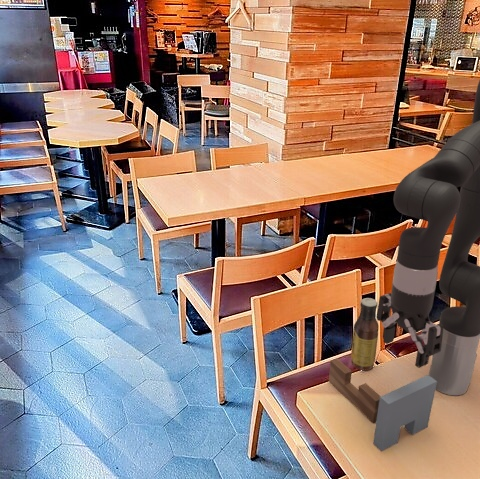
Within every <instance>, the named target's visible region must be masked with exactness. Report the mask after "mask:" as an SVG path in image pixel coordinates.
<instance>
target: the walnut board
mask: <svg viewBox="0 0 480 479" xmlns="http://www.w3.org/2000/svg"><path fill="white" fill-rule="evenodd" d="M352 374H353V370H351V368H349V367H348V366H346V365H345V363H343V362H342V361H341V360H340V359H338V358H334V359H331V360H330V364H329V375H328V382H329V383H330V384H331V385H332V386H333V387H334V388H335V389H336V390H337V391H338V392H340V394H342V396H343V397H345V398H346V399H347V400H348V401H349V402H350V403H351V404H352V405H353V406H354V407H355V408H356V409H357V410H358V411H360V413H362V415H364V417H365V418H366V419H367V420H369V421H370V422H371V423H372V424H376V421H377V414H378V407H379V400H380V397H381V396H382V395H380V394H379V393H378V392H377V391H375V390H374V388H372V387H371V386H370V385H368V384H367V383H366V382H365V383H362V384H360V385H358V388H357V387H356V386H355V385H354V384H353V383H351V381H352Z"/></svg>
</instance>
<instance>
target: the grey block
mask: <svg viewBox="0 0 480 479" xmlns="http://www.w3.org/2000/svg"><path fill="white" fill-rule="evenodd" d="M436 384H437V381H436V380H435V379H433V378H432V377H430V376H429V374H427V375H424V376H423V377H420V378H418V379H415V380H413V381H411V382H409V383H407V384H405V385H402V386H400V387H398V388H396V389H393V390H391V391H390V392H387V393H385V394H383V395H380V396H381V397H380V400H379V407H378V414H377V421H376V422H375V428H374V436H373V441H372V444H373V445H374V446H375V447H376V449H378V450H379V451H380V452H383V451H385V450H387V449H389V448H391V447H393V446H395V445H397V444H398V442H399V437H400V432H401V428H402V427H403V428H404V429H405V430H406V431H407V432H408V433H409V434H410V435H411V436H414V435H415V434H417V433H419V432H421V431H423V430H425V429H427V428H428V427H429V422H430V416H431V413H432V407H433V403H434V398H435V394H436Z"/></svg>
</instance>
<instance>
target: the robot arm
mask: <svg viewBox="0 0 480 479" xmlns="http://www.w3.org/2000/svg"><path fill="white" fill-rule="evenodd" d="M474 97H475V98H474V104H473V105H474V106H473V114H472V122H471V124H469V125H467V126H465V127H463V128H461V130H459V131H457V132H456V133H454V134H453V135H452V136H451V137H450V138H449V139H448V140H447V141H446V142H445V144H443V146H442V147H441V148H440V149H439V151H438V152H437V153H436V154H435V156H434V157H433V158H431V159H429V160H428V161H426V162H424V163H423V164H421V165H420V166H418V167H417V168H415V169H414V170H412V171H411V172H409V173H408V174H406V175H405V176H404V178H402V179H401V180H400V182H399V183H398V185H397V186H396V188H395V191H394V193H393V205H394V208H395V209H396V210H397V211H398V213H401V214H402V215H405V216H408V217H411V218H414V219H419V220H422V221H425V222H427V226H426V227H420V226H417V227H416V226H413V227H408V228H406V229H405V228H404V230H402V231H401V233H400V236H399V242H398V249H397V255H396V256H397V257H396V263H395V266H394V269H393V278H392V285H391V286H392V287H391V292H388V293H386V294H383V295H380V296H379V299H378V303H377V309H376V317H375V318H376V320H377V322H381V325H382V328H383V329H382V330H383V332H382V339H383V343H385V345H388V344H390V343H393V342H394V339H395V331H396V326H395V325H396V324H397V327H399V328H401V329H403V330H404V331H405V332H406V333H408V334H409V335H410V337H411V340H412V342H414V343H415V345H416V347H417V349H418V350H417V351H416V357H415V363H414V366H416V367H417V368H418V369H420V368H423V367H425V366H427V365H428V364H429V361H430V360H429V359H430V357H431V363H430V368H429V373H428V375H429V376H430V377H432V378H433V379H435V380H436V381H437V384H436V389H435V391H438V392H440V393H442V394H445V395H449V396H461V395H462V396H463V394H465V393H467V391H468V388H469V385H471V381H472V378H473V373H474V368H475V364H476V360H477V357H478V353H477V352H478V348H479V347H478V346H479V342H480V265H478V264H476V263H475V264H474V263H473V262H470V261H468V257H469V254H470V251H471V249H472V247H473V245H474V243H475V242H476V241H477V240H478V239H479V238H480V79H479V80H478V83H477V87H476V92H475V96H474ZM459 187H460V191H459V189H458V188H459ZM454 218H455V219H454ZM453 220H454V223H453V228H452V232H451V238H450V241H449V244H448V247H447V252H446V253H445V257H444V261H443V264H442V267H441V271H440V276H439V281H438V273H439V272H438V269H439V268H438V266H439V260H440V254H441V249H442V245H443V241H444V239H445V237H446V234H447V232H448V230H449V228H450V226H451V224H452V222H453ZM437 281H438V282H439V290H440V291H441V292H440V293H442V294H443V295H445V296H447V297H448V298H451V299H452V300H454V301H456V302H459V303H462V304H464V305H465V306H449V307H446V308H444V309H443V310H442V311H441V313H440V317H439V322H438V323H437V324H436V323H435V322H432V321H431V320H430V313H431V311H432V308H433V305H434V300H435V299H434V298H435V293H436V288H437V287H436V286H437ZM391 310H392V311H391ZM391 312H392V315H390V313H391ZM419 332H421V334H419V335H418V333H419ZM423 342H424V343H423Z"/></svg>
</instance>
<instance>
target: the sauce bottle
mask: <svg viewBox="0 0 480 479" xmlns="http://www.w3.org/2000/svg"><path fill="white" fill-rule="evenodd" d="M377 309H378V302H377V300H376V299H374V298H371V297H366V298H363V299H361V300H360V312H359V316H358V317H357V318H356V321H355V322H354V324H353V332H352V342H351V352H350V358H351V360H350V362H351V364H352V365H353V367H355V369H358V370H360V371H368V370H371V369H372V368H374V367H375V362H376V356H377V348H378V340H379V323H378V322H379V321H378V320H377V318H376V316H377Z"/></svg>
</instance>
